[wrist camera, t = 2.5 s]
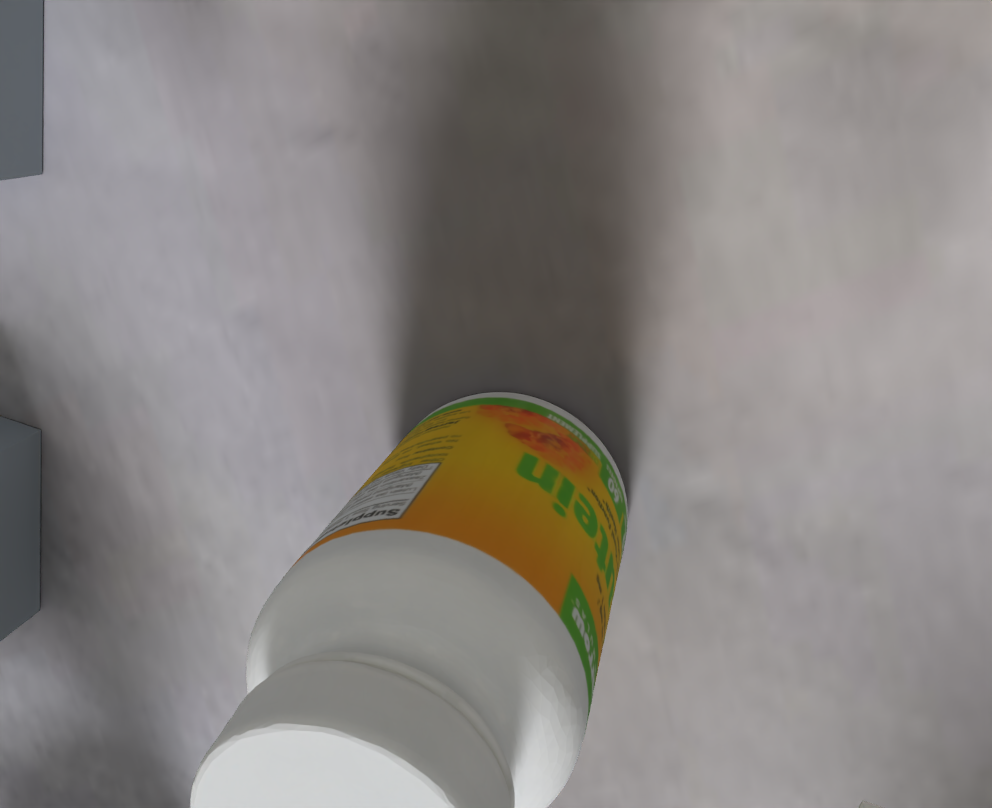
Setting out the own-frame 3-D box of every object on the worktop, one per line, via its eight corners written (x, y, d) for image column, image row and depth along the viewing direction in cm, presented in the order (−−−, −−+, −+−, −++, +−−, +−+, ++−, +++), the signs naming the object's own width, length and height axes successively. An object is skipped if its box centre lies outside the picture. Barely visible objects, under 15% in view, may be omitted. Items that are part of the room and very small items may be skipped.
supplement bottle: (676, 548, 19) (638, 970, 10) (478, 633, 21) (300, 1045, 12) (547, 341, 18) (377, 605, 9) (352, 451, 20) (58, 754, 11)
